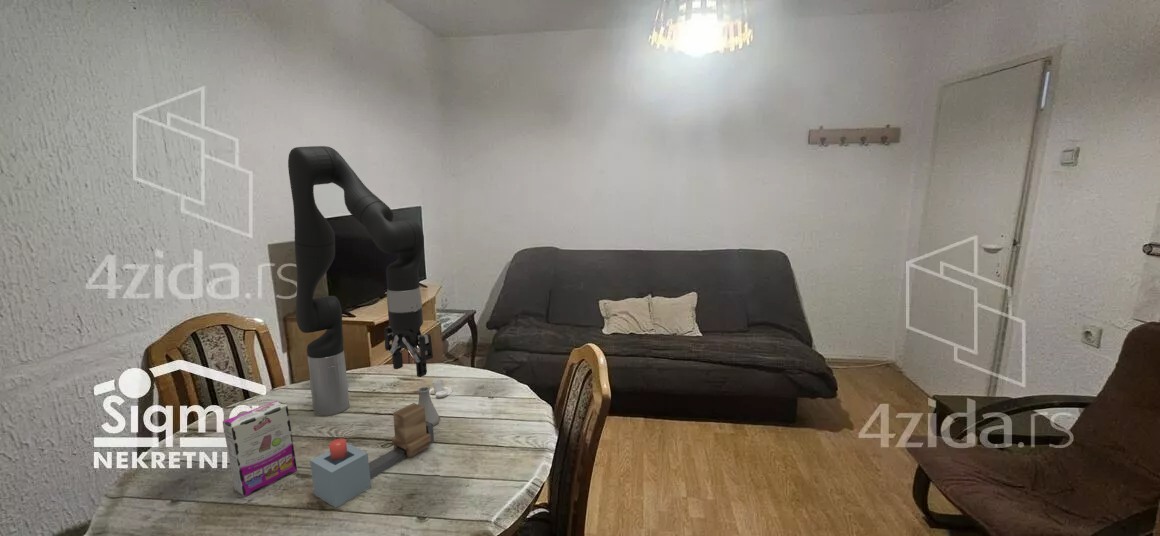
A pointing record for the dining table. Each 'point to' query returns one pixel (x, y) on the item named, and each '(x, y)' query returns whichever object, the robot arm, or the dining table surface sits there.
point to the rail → (394, 456)
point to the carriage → (410, 429)
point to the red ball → (338, 449)
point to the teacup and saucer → (439, 389)
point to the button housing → (340, 476)
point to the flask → (428, 405)
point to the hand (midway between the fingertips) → (409, 371)
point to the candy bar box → (260, 447)
